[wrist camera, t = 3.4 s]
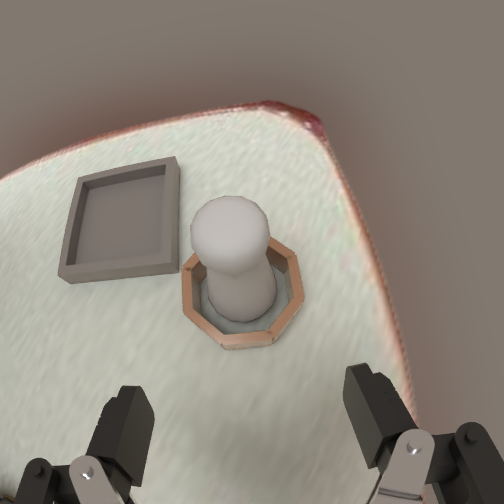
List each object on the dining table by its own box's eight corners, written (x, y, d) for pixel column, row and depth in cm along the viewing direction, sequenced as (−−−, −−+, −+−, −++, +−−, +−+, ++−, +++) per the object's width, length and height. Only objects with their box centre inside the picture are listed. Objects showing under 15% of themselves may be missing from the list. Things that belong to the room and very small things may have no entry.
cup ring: (195, 352, 24) (185, 348, 21) (189, 254, 28) (181, 237, 25) (304, 340, 24) (310, 334, 21) (287, 242, 29) (290, 224, 25)
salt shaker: (243, 254, 28) (230, 161, 16) (288, 293, 26) (309, 217, 15) (199, 297, 26) (151, 226, 15) (243, 340, 25) (226, 300, 13)
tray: (70, 283, 27) (57, 275, 25) (86, 189, 33) (78, 177, 31) (178, 272, 28) (171, 262, 25) (180, 170, 33) (175, 156, 31)
